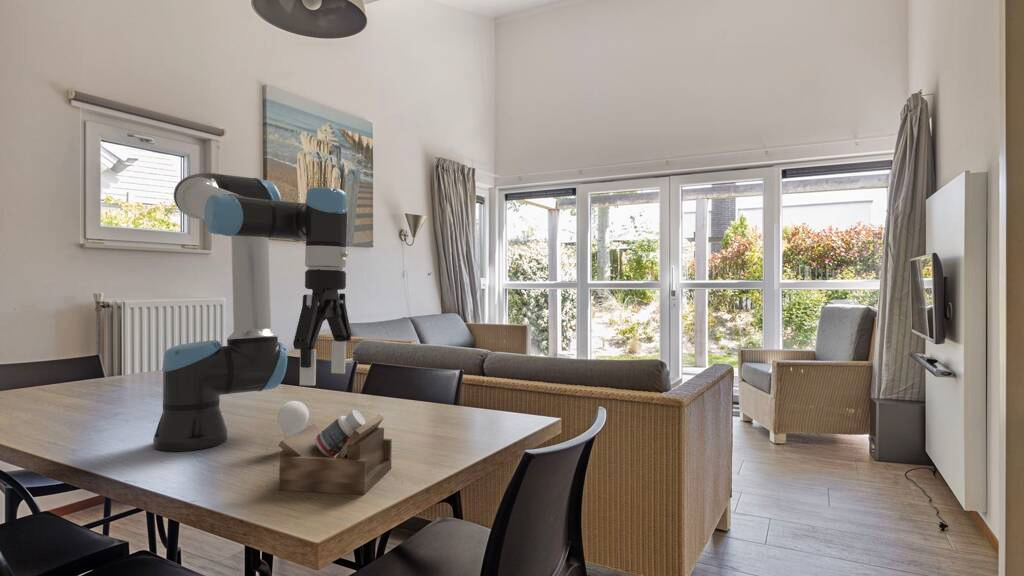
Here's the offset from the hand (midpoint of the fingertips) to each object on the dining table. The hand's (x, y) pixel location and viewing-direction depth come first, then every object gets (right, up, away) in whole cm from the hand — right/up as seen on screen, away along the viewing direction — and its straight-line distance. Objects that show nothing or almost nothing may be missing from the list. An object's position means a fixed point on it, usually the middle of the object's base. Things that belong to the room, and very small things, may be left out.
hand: (323, 378), depth 112 cm
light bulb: (-13, -19, +18) cm, 30 cm away
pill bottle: (0, -13, 0) cm, 13 cm away
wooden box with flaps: (+3, -19, -1) cm, 19 cm away
